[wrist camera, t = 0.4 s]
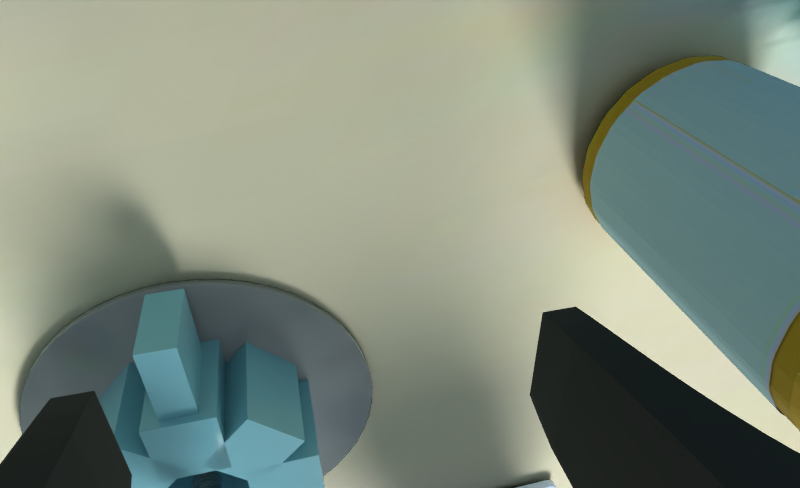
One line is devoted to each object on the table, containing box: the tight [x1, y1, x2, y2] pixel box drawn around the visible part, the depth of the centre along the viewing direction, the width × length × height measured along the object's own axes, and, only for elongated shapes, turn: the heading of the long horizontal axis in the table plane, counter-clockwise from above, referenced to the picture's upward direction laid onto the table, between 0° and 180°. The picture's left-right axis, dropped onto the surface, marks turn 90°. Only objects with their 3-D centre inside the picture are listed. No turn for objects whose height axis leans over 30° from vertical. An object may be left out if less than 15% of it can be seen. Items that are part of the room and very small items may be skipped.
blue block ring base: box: [19, 279, 372, 488], centre depth 22 cm, size 13×13×4 cm
